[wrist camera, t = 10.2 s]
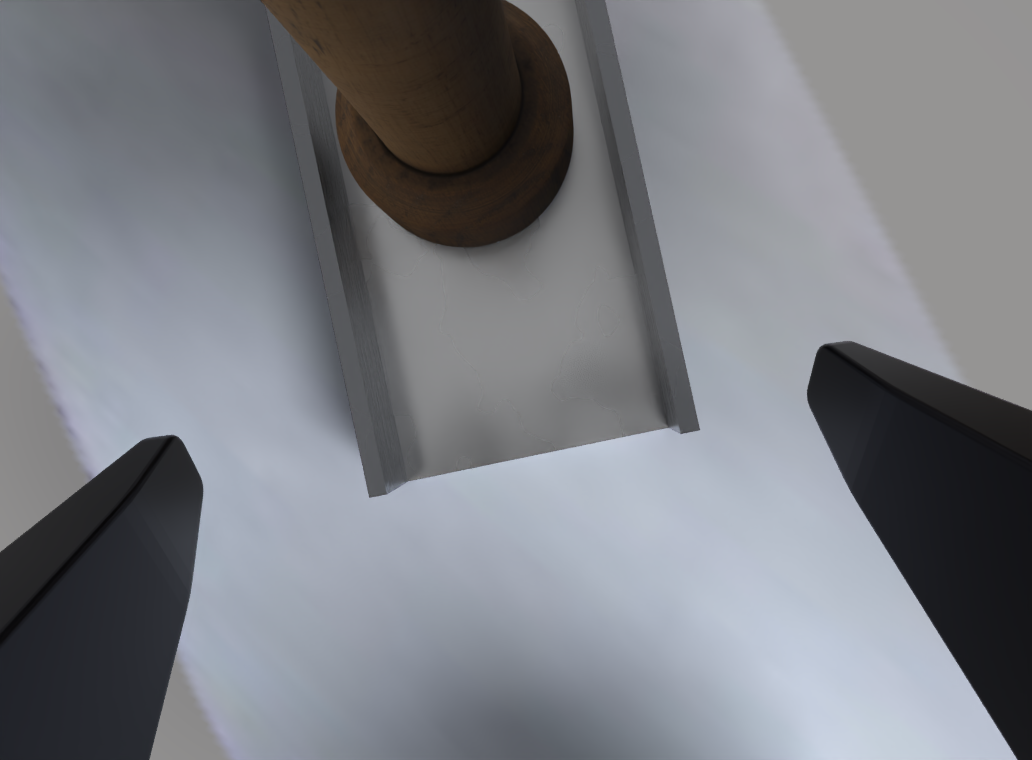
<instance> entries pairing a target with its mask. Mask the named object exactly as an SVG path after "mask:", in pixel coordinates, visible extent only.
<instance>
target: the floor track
mask: <svg viewBox="0 0 1032 760" xmlns="http://www.w3.org/2000/svg"><path fill="white" fill-rule="evenodd" d="M506 1H508V2H510V3H512V4H513V5H515V6H516V7H518V8H519V9H521V10H522V11H524V12H525V13H526V14H528V15H529V16H530V17H531V18H532V19H533V20H535V21H536V22H537V23H538V24H539V26H540V27H541V28H542V29H543V30H544V31H545V32H546V34H547V35H548V36H549V38H550V39H551V41H552V42H553V44H554V45H555V47H556V49H557V51H558V53H559V55H560V57H561V59H562V62H563V64H564V67H565V70H566V73H567V77H568V81H569V85H570V91H571V99H572V112H573V126H574V137H573V148H572V155H571V160H570V164H569V167H568V171H567V173H566V176H565V179H564V181H563V183H562V185H561V187H560V189H559V191H558V193H557V195H556V196H555V198H554V199H553V201H552V202H551V203H550V205H549V206H548V207H547V209H546V210H545V211H544V212H543V213H542V214H541V215H540V216H539V217H538V218H537V219H536V220H535V221H534V222H533V223H531V224H530V225H529V226H528V227H526V228H525V229H523V230H522V231H520V232H519V233H517V234H515V235H513V236H511V237H509V238H507V239H504V240H502V241H499V242H496V243H492V244H488V245H484V246H478V247H451V246H445V245H440V244H436V243H433V242H430V241H427V240H425V239H422V238H420V237H418V236H416V235H414V234H412V233H411V232H409V231H407V230H406V229H404V228H403V227H401V226H400V225H399V224H397V223H396V222H395V221H394V220H393V219H391V218H390V217H389V216H388V215H387V214H386V213H385V212H384V211H382V210H381V209H380V208H379V207H378V206H377V205H376V204H375V203H374V202H373V201H372V200H371V199H370V198H369V197H368V196H367V195H366V194H365V193H364V192H363V190H362V189H361V188H360V186H359V185H358V184H357V182H356V181H355V179H354V177H353V176H352V174H351V172H350V170H349V169H348V166H347V164H346V162H345V160H344V157H343V154H342V151H341V148H340V144H339V140H338V135H337V130H336V119H335V103H336V93H337V87H336V86H335V85H334V84H333V83H332V82H331V80H330V79H329V78H328V77H327V76H326V75H325V73H324V72H323V71H322V70H321V69H320V68H319V67H318V65H317V64H316V63H315V62H314V61H313V60H312V59H311V58H310V56H309V55H308V54H307V53H306V52H305V51H304V50H303V48H302V47H301V46H300V45H299V44H298V43H297V42H296V40H295V39H294V38H293V37H292V36H291V35H290V34H289V32H288V31H287V30H286V29H285V28H284V27H283V26H282V24H281V23H280V22H279V21H278V20H277V19H276V18H275V16H274V15H273V14H272V13H271V12H270V11H269V9H268V8H267V7H266V6H265V7H266V12H267V17H268V21H269V26H270V31H271V36H272V40H273V45H274V50H275V54H276V59H277V64H278V69H279V73H280V78H281V83H282V87H283V92H284V97H285V102H286V106H287V111H288V116H289V121H290V125H291V130H292V135H293V139H294V144H295V149H296V154H297V158H298V163H299V168H300V172H301V177H302V182H303V187H304V191H305V196H306V201H307V206H308V210H309V215H310V220H311V224H312V229H313V234H314V239H315V243H316V248H317V253H318V258H319V262H320V267H321V272H322V276H323V281H324V286H325V291H326V295H327V300H328V305H329V309H330V314H331V319H332V324H333V328H334V333H335V338H336V343H337V347H338V352H339V357H340V361H341V366H342V371H343V376H344V380H345V385H346V390H347V394H348V399H349V404H350V409H351V413H352V418H353V423H354V428H355V432H356V437H357V442H358V446H359V451H360V456H361V461H362V465H363V470H364V475H365V479H366V484H367V489H368V494H369V498H371V497H376V496H381V495H386V494H388V493H390V492H391V491H393V490H395V489H396V488H398V487H400V486H401V485H403V484H404V483H406V482H408V481H412V480H417V479H422V478H427V477H431V476H436V475H441V474H446V473H451V472H456V471H460V470H465V469H470V468H475V467H480V466H485V465H490V464H494V463H499V462H504V461H509V460H514V459H519V458H523V457H528V456H533V455H538V454H543V453H548V452H553V451H557V450H562V449H567V448H572V447H577V446H582V445H586V444H591V443H596V442H601V441H606V440H611V439H616V438H620V437H625V436H630V435H635V434H640V433H645V432H649V431H654V430H659V429H664V428H671V429H672V430H674V431H676V432H678V433H680V434H683V433H688V432H693V431H698V430H700V428H699V424H698V419H697V415H696V410H695V405H694V401H693V396H692V392H691V387H690V383H689V378H688V374H687V369H686V365H685V360H684V356H683V351H682V347H681V342H680V338H679V333H678V329H677V324H676V320H675V315H674V311H673V306H672V301H671V297H670V292H669V288H668V283H667V279H666V274H665V270H664V265H663V261H662V256H661V252H660V247H659V243H658V238H657V234H656V229H655V225H654V220H653V216H652V211H651V206H650V202H649V197H648V193H647V188H646V184H645V179H644V175H643V170H642V166H641V161H640V157H639V152H638V148H637V143H636V139H635V134H634V130H633V125H632V121H631V116H630V112H629V107H628V102H627V98H626V93H625V89H624V84H623V80H622V75H621V71H620V66H619V62H618V57H617V53H616V48H615V44H614V39H613V35H612V30H611V26H610V21H609V17H608V12H607V8H606V3H605V0H506Z"/></svg>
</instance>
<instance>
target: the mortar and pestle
mask: <svg viewBox="0 0 1032 760" xmlns="http://www.w3.org/2000/svg"><path fill="white" fill-rule="evenodd" d="M261 2H262V3H263V4H264V5H265V6H266V7H267V8H268V9H269V11H270V12H271V13H272V14H273V15H274V16H275V18H276V19H277V20H278V21H279V22H280V23H281V24H282V26H283V27H284V28H285V29H286V30H287V31H288V32H289V34H290V35H291V36H292V37H293V38H294V39H295V40H296V42H297V43H298V44H299V45H300V46H301V47H302V48H303V50H304V51H305V52H306V53H307V54H308V55H309V56H310V58H311V59H312V60H313V61H314V62H315V63H316V64H317V65H318V67H319V68H320V69H321V70H322V71H323V72H324V73H325V75H326V76H327V77H328V78H329V79H330V80H331V82H332V83H333V84H334V85H335V86H336V87H337V93H336V103H335V119H336V130H337V135H338V140H339V144H340V148H341V151H342V154H343V157H344V160H345V162H346V164H347V166H348V169H349V170H350V172H351V174H352V176H353V177H354V179H355V181H356V182H357V184H358V185H359V186H360V188H361V189H362V190H363V192H364V193H365V194H366V195H367V196H368V197H369V198H370V199H371V200H372V201H373V202H374V203H375V204H376V205H377V206H378V207H379V208H380V209H381V210H382V211H384V212H385V213H386V214H387V215H388V216H389V217H390V218H391V219H393V220H394V221H395V222H396V223H397V224H399V225H400V226H401V227H403V228H404V229H406V230H407V231H409V232H411V233H412V234H414V235H416V236H418V237H420V238H422V239H425V240H427V241H430V242H433V243H436V244H440V245H445V246H451V247H478V246H484V245H488V244H492V243H496V242H499V241H502V240H504V239H507V238H509V237H511V236H513V235H515V234H517V233H519V232H520V231H522V230H523V229H525V228H526V227H528V226H529V225H530V224H531V223H533V222H534V221H535V220H536V219H537V218H538V217H539V216H540V215H541V214H542V213H543V212H544V211H545V210H546V209H547V207H548V206H549V205H550V203H551V202H552V201H553V199H554V198H555V196H556V195H557V193H558V191H559V189H560V187H561V185H562V183H563V181H564V179H565V176H566V173H567V171H568V167H569V164H570V160H571V155H572V148H573V137H574V126H573V112H572V99H571V91H570V85H569V81H568V77H567V73H566V70H565V67H564V64H563V62H562V59H561V57H560V55H559V53H558V51H557V49H556V47H555V45H554V44H553V42H552V41H551V39H550V38H549V36H548V35H547V34H546V32H545V31H544V30H543V29H542V28H541V27H540V26H539V24H538V23H537V22H536V21H535V20H533V19H532V18H531V17H530V16H529V15H528V14H526V13H525V12H524V11H522V10H521V9H519V8H518V7H516V6H515V5H513V4H512V3H510V2H508V1H506V0H261Z"/></svg>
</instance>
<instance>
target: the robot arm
mask: <svg viewBox="0 0 1032 760" xmlns="http://www.w3.org/2000/svg"><path fill="white" fill-rule="evenodd" d="M807 399H808V403H809V406H810V409H811V411H812V413H813V415H814V417H815V419H816V421H817V423H818V426H819V428H820V430H821V432H822V434H823V436H824V438H825V440H826V442H827V444H828V446H829V449H830V451H831V453H832V455H833V457H834V459H835V461H836V463H837V465H838V467H839V469H840V472H841V474H842V476H843V478H844V480H845V482H846V484H847V485H848V487H849V489H850V491H851V493H852V495H853V496H854V498H855V500H856V501H857V503H858V505H859V507H860V508H861V510H862V511H863V513H864V515H865V516H866V518H867V519H868V521H869V523H870V524H871V526H872V527H873V529H874V531H875V532H876V534H877V535H878V537H879V539H880V540H881V542H882V543H883V545H884V547H885V548H886V550H887V551H888V553H889V555H890V556H891V558H892V559H893V561H894V563H895V564H896V566H897V567H898V569H899V571H900V572H901V574H902V575H903V577H904V579H905V580H906V582H907V583H908V585H909V587H910V588H911V590H912V591H913V593H914V595H915V596H916V598H917V599H918V601H919V603H920V604H921V606H922V607H923V609H924V611H925V612H926V614H927V615H928V617H929V619H930V620H931V622H932V623H933V625H934V627H935V628H936V630H937V631H938V633H939V635H940V636H941V638H942V640H943V641H944V643H945V644H946V646H947V648H948V649H949V651H950V652H951V654H952V656H953V657H954V659H955V660H956V662H957V664H958V665H959V667H960V668H961V670H962V672H963V673H964V675H965V676H966V678H967V680H968V681H969V683H970V684H971V686H972V688H973V689H974V691H975V692H976V694H977V696H978V697H979V699H980V700H981V702H982V704H983V705H984V707H985V708H986V710H987V712H988V713H989V715H990V716H991V718H992V720H993V721H994V723H995V724H996V726H997V728H998V729H999V731H1000V732H1001V734H1002V736H1003V737H1004V739H1005V740H1006V742H1007V744H1008V745H1009V747H1010V748H1011V750H1012V752H1013V753H1014V755H1015V756H1016V758H1017V760H1032V411H1031V410H1029V409H1026V408H1024V407H1021V406H1018V405H1016V404H1013V403H1011V402H1008V401H1006V400H1003V399H1000V398H998V397H995V396H992V395H990V394H987V393H985V392H982V391H980V390H977V389H974V388H972V387H969V386H967V385H964V384H961V383H959V382H956V381H954V380H951V379H949V378H946V377H943V376H941V375H938V374H936V373H933V372H930V371H928V370H925V369H923V368H920V367H917V366H915V365H912V364H910V363H907V362H904V361H902V360H899V359H897V358H894V357H891V356H889V355H886V354H884V353H881V352H879V351H876V350H873V349H871V348H868V347H866V346H863V345H860V344H858V343H855V342H852V341H843V342H836V343H829V344H824V345H823V346H821V347H820V348H819V349H818V351H817V354H816V357H815V361H814V365H813V369H812V373H811V377H810V381H809V385H808V389H807ZM202 500H203V484H202V480H201V477H200V475H199V473H198V471H197V469H196V467H195V465H194V463H193V461H192V459H191V457H190V455H189V453H188V451H187V449H186V447H185V445H184V443H183V442H182V440H181V439H180V438H179V437H177V436H175V435H166V436H159V437H152V438H146V439H144V440H142V441H140V442H139V443H138V444H136V445H135V446H134V447H133V448H131V449H130V450H129V451H128V452H126V453H125V454H124V455H122V456H121V457H120V458H119V459H117V460H116V461H115V462H114V463H112V464H111V465H110V466H109V467H107V468H106V469H105V470H103V471H102V472H101V473H100V474H98V475H97V476H96V477H95V478H93V479H92V480H91V481H90V482H88V483H87V484H86V485H85V486H83V487H82V488H81V489H79V490H78V491H77V492H76V493H74V494H73V495H72V496H71V497H69V498H68V499H67V500H66V501H65V502H63V503H62V504H61V505H59V506H58V507H57V508H55V509H54V510H53V511H52V512H50V513H49V514H48V515H47V516H45V517H44V518H43V519H42V520H40V521H39V522H38V523H36V524H35V525H34V526H33V527H32V528H30V529H29V530H28V531H26V532H25V533H24V534H23V535H21V536H20V537H19V538H18V539H16V540H15V541H14V542H13V543H11V544H10V545H9V546H7V547H6V548H5V549H4V550H2V551H1V552H0V760H149V759H150V755H151V751H152V747H153V743H154V739H155V735H156V731H157V727H158V722H159V719H160V715H161V711H162V707H163V703H164V699H165V695H166V691H167V687H168V683H169V679H170V674H171V671H172V667H173V663H174V659H175V655H176V651H177V647H178V643H179V639H180V635H181V631H182V627H183V623H184V619H185V615H186V611H187V607H188V602H189V598H190V593H191V586H192V580H193V572H194V564H195V556H196V548H197V540H198V532H199V524H200V516H201V508H202Z"/></svg>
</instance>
